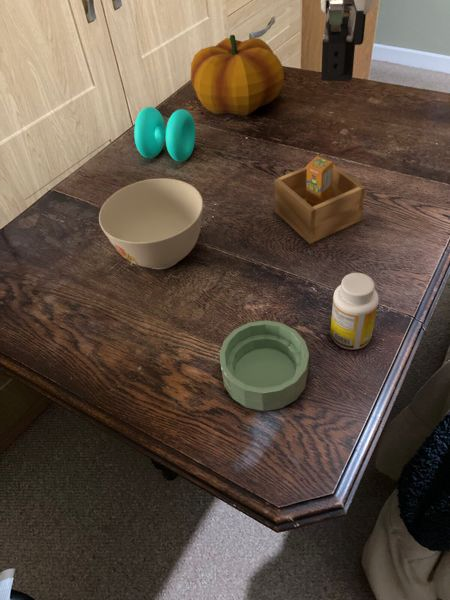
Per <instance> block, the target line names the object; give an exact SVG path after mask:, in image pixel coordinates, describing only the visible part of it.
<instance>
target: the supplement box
mask: <svg viewBox="0 0 450 600" xmlns="http://www.w3.org/2000/svg"><path fill="white" fill-rule="evenodd" d="M326 159H327V158H323V157H321V156H319V155H317V156H315V157H314V158H313V159H311V161H310V162H308V164H306V166H307V179H306V202H307V203H308V204H309V205H311V206H312V207H313V206H316V205H318V204H320V203H323V202H325V201H327V200H329V199H331V186H332V171H333V164H334V161H332V160H328V159H327V160H326Z"/></svg>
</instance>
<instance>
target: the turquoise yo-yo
mask: <svg viewBox="0 0 450 600" xmlns="http://www.w3.org/2000/svg"><path fill="white" fill-rule="evenodd" d="M133 130H134V132H133V137H134V143H135V147H136V149H137V151H138V153H139V154H140V155H141V156H142V157H144V158H146V159H154V158H156V157H157V156H159V154H160V153H161V152H162V150H163V148H164V145H165V146H166V149H167V152H168V154H169V156H170V157H171V158H172V159H173V160H174V161H176V162H181V163H182V162H185V161H187V160H188V159H189V158H190V157H191V155H192V153H193V151H194V147H195V144H196V143H195V142H196V124H195V120H194V117H193V116H192V114H191V113H190V112H189V110H186V109H184V108H183V109H177V110H175V111H174V112H172V114H171V115H170V117H169V118H168V121H167V123H165V119H164V117H163V115H162V113H161V112H160V111H159V110H158V109H157V108H156V107H153V106H147V107H144V108H143V109H141V110H140V112H139V113H138V114H137V116H136V119H135V123H134V129H133Z"/></svg>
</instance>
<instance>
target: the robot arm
mask: <svg viewBox="0 0 450 600" xmlns="http://www.w3.org/2000/svg"><path fill="white" fill-rule="evenodd" d="M374 5H375V0H320V9H321V11H322V12H323V14H325V15H326V16H325V24H324V31H323V38H322V44H321V45H322V47H321V73H320V74H321V75H320V78H321V80H322V81H325V82H350V81H352V79H353V74H354V63H355V51H356V46H361V45H362V44H363V43H364V41H365V28H366V19H367V14H368V13H370V12H371V11H372V9H373V7H374Z"/></svg>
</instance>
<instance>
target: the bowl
mask: <svg viewBox="0 0 450 600" xmlns="http://www.w3.org/2000/svg"><path fill="white" fill-rule="evenodd" d="M203 212H204V199H203V196H202V195H201V193H200V192H199V191H198V189H197V188H196V187H194V186H193V185H191V184H189V183H188V182H186V181H183V180H180V179H174V178H167V177H165V178H162V177H161V178H150V179H144V180H140V181H137V182H133V183H131V184H128V185H126V186H124V187H122V188H120V189H119V190H117V191H116V192H114V193H113V194H111V195H110V196H109V197H108V198H107V199H106V201H104V203H103V204H102V206H101V208H100V211H99V213H98V222H99V226H100V228H101V230H102V231H103V233H104V234H105V236H106V237H107V239H108V240H109V241H110V243H111V245H112V246H113V248H115V250H116V251H117V252H118V254H120V255H121V256H122V257H123V258H124V259H125V260H127V261H128V262H130V263H132V264H134V265H136V266H139V267H143V268H148V269H152V270H153V269H154V270H166V269H169V268H172V267H174V266H175V265H176V264H178V262H181V260H183V259H185V257H187V256H188V255H189V254H190V253H191V252H192V250H193V249H194V247H195V246H196V244H197V242H198V239H199V237H200V233H201V227H202V220H203Z"/></svg>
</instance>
